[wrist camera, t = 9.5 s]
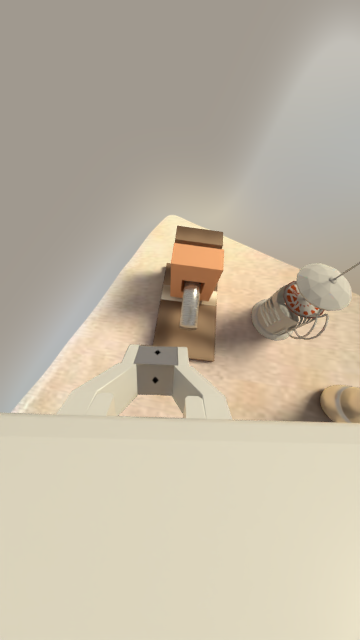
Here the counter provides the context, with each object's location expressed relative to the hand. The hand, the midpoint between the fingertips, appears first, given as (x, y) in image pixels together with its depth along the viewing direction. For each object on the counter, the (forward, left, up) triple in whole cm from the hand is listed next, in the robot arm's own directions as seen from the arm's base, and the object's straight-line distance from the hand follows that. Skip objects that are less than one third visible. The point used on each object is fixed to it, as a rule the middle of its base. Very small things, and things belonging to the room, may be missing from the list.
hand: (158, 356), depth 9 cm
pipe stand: (+14, -3, -25) cm, 29 cm away
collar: (+18, -3, -23) cm, 29 cm away
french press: (+14, -22, -26) cm, 36 cm away
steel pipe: (+15, -3, -20) cm, 25 cm away
